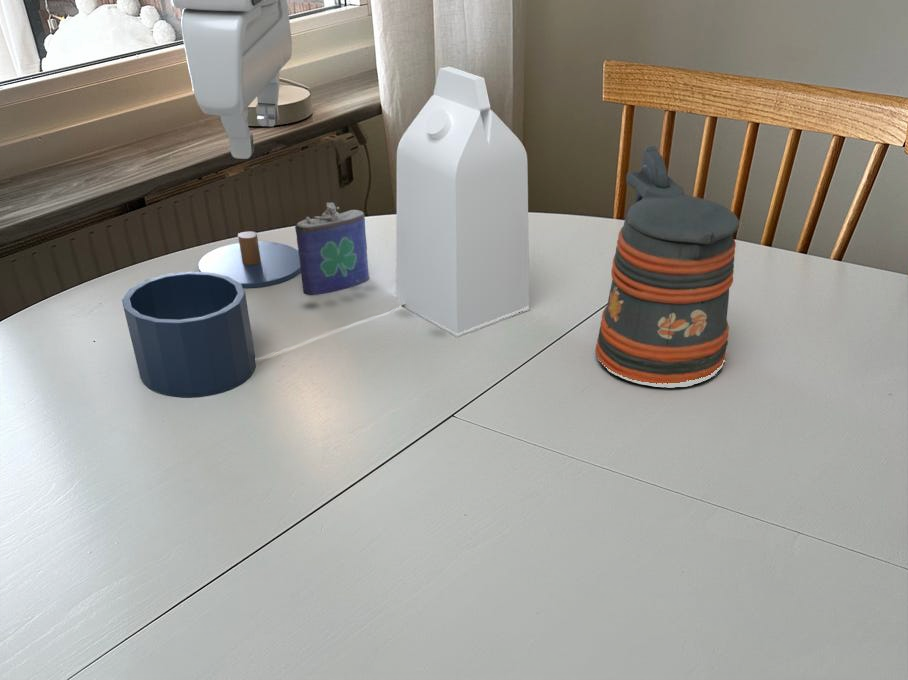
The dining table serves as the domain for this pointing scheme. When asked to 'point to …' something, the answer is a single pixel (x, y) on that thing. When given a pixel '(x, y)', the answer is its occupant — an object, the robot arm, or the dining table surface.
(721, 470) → the dining table surface
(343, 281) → the flask
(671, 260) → the beer stein
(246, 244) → the pot lid
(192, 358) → the pot
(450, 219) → the milk
